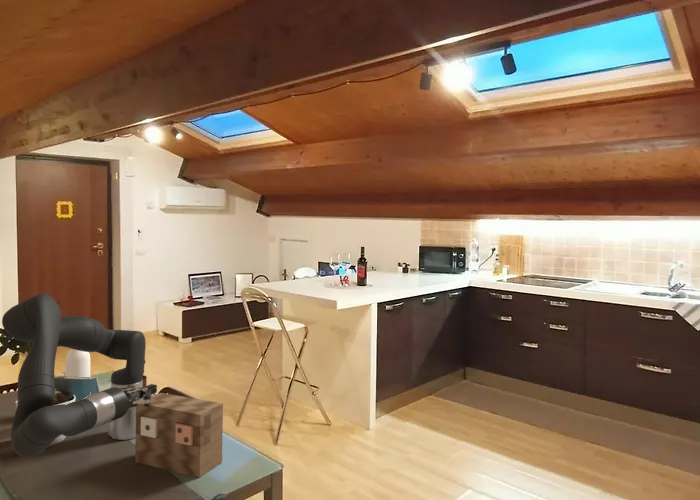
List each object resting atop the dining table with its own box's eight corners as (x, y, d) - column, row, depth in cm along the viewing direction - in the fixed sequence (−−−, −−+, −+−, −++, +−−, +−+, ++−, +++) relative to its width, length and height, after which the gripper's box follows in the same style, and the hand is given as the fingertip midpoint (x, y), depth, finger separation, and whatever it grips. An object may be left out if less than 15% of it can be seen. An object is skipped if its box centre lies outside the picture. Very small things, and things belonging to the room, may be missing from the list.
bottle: (64, 417, 183) (64, 330, 182) (66, 410, 191) (66, 326, 189) (90, 414, 187) (90, 329, 185) (91, 407, 194) (91, 325, 192)
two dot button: (174, 442, 144) (175, 424, 144) (187, 435, 149) (187, 418, 149) (190, 445, 142) (190, 427, 142) (202, 438, 147) (202, 421, 147)
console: (135, 462, 151) (135, 402, 150) (160, 448, 160) (160, 392, 159) (199, 477, 143) (200, 414, 142) (222, 462, 152) (222, 403, 151)
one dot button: (140, 435, 149) (140, 417, 148) (153, 428, 153) (153, 411, 153) (154, 438, 147) (154, 420, 146) (167, 431, 151) (167, 414, 151)
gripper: (123, 396, 122) (175, 377, 138) (80, 388, 127) (135, 370, 143) (123, 428, 123) (174, 405, 139) (80, 419, 127) (134, 398, 144)
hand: (154, 388), depth 141 cm, fingers closed
